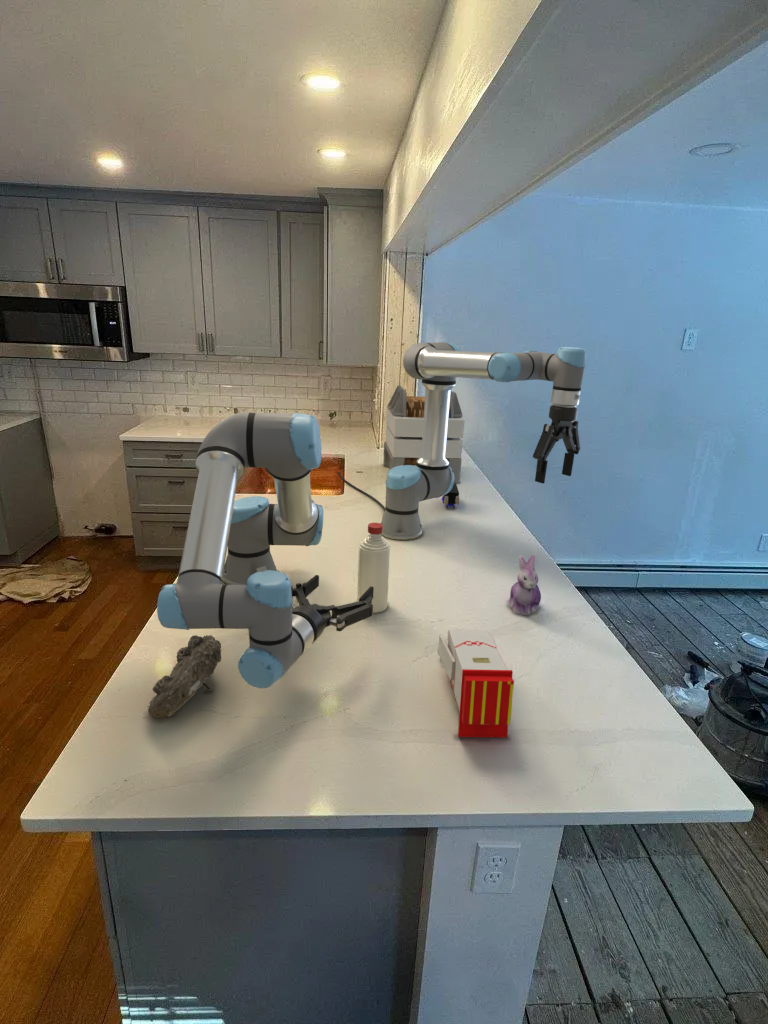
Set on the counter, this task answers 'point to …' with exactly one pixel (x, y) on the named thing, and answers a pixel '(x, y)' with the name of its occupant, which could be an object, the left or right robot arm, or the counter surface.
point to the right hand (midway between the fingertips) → (553, 478)
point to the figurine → (525, 588)
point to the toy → (478, 682)
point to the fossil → (186, 675)
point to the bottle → (374, 569)
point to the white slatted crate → (419, 431)
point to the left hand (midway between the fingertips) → (344, 586)
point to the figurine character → (451, 497)
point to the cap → (375, 528)
